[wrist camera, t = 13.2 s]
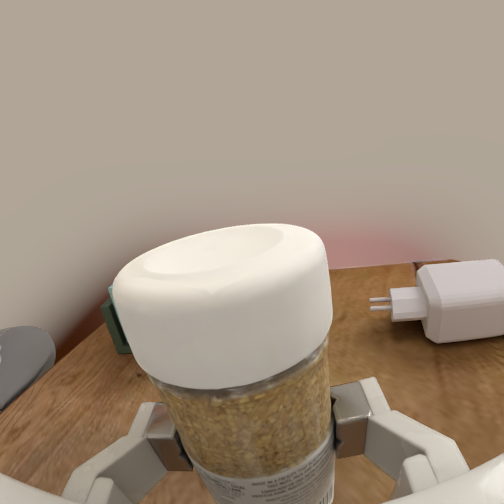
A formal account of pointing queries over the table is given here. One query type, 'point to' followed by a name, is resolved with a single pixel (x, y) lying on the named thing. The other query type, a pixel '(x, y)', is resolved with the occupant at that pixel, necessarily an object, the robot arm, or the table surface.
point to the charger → (452, 301)
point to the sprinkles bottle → (240, 356)
